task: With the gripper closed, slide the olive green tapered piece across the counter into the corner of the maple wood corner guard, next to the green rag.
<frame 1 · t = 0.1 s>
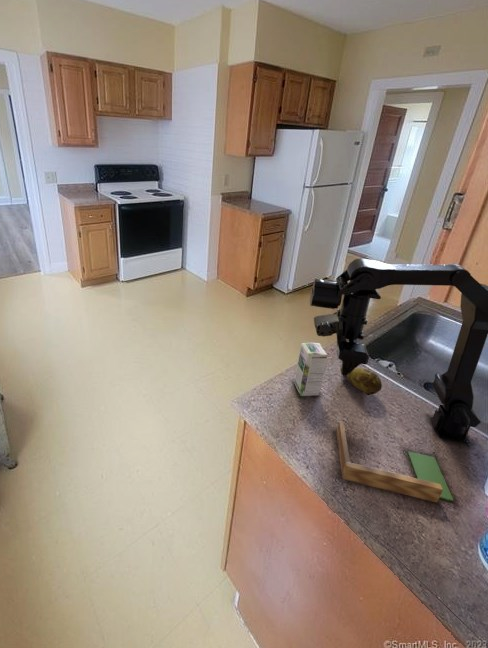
hand: (341, 363, 83), 15 cm above the worktop, tool pointing down, fingers open, 9 cm apart
syrup box: (306, 389, 95), on the worktop
corner guard: (383, 486, 68), on the worktop
olive green tapered piece: (357, 388, 96), on the worktop
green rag: (428, 475, 71), on the worktop
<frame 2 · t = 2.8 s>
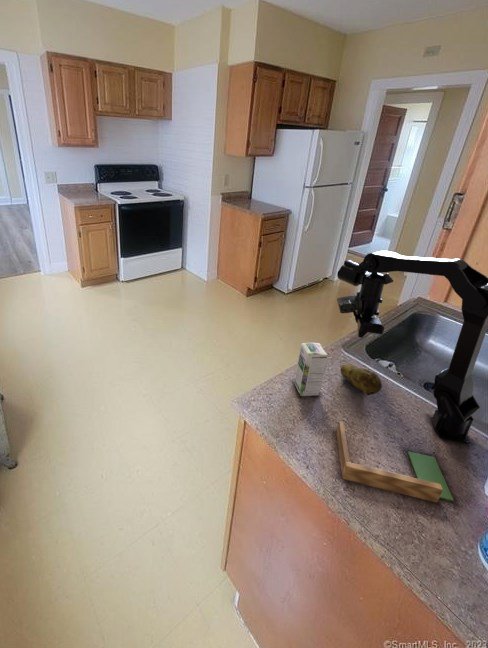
hand: (360, 336, 101), 12 cm above the worktop, tool pointing down, fingers closed
nothing on the worktop moved.
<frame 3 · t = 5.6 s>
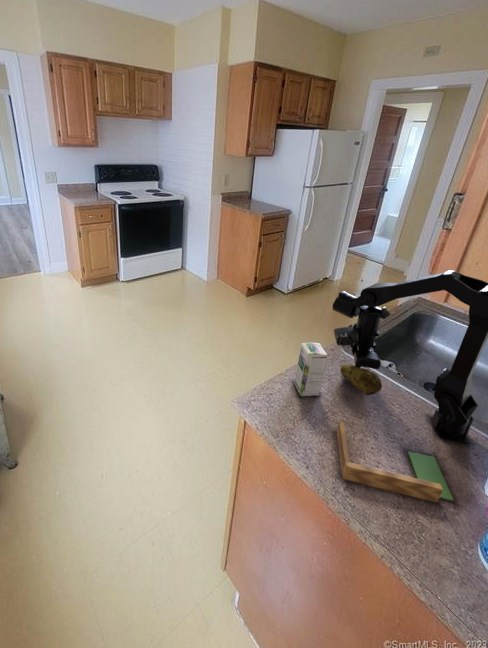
hand: (356, 367, 100), 3 cm above the worktop, tool pointing down, fingers closed
olive green tapered piece: (357, 388, 96), on the worktop, touching gripper
everything else where it was.
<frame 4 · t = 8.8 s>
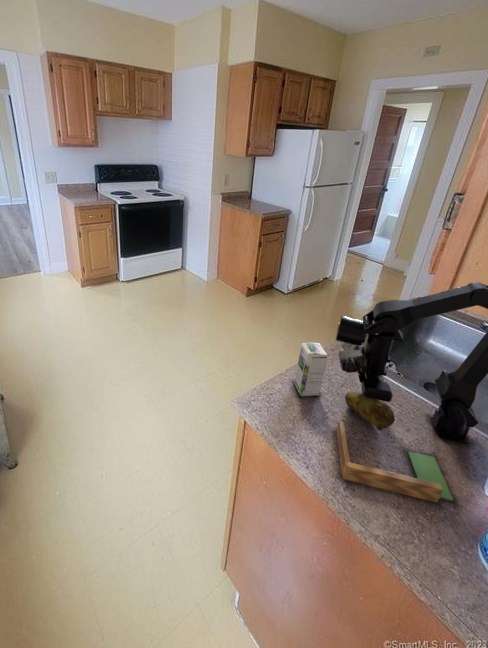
hand: (364, 395, 89), 3 cm above the worktop, tool pointing down, fingers closed
olive green tapered piece: (365, 419, 85), on the worktop, touching gripper
everything else where it was.
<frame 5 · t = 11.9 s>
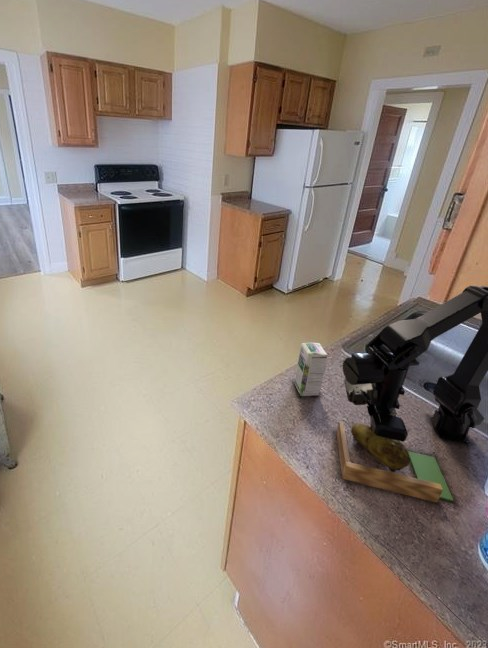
hand: (373, 427, 79), 3 cm above the worktop, tool pointing down, fingers closed
olive green tapered piece: (375, 456, 75), on the worktop, touching gripper
everything else where it was.
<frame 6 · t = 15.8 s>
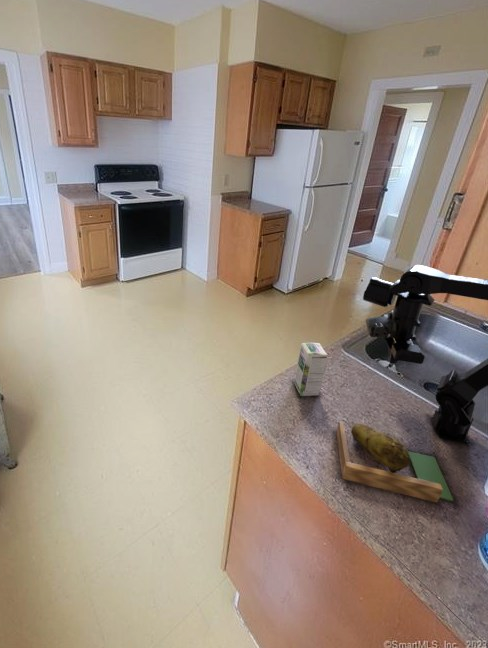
hand: (391, 362, 88), 12 cm above the worktop, tool pointing down, fingers closed
olive green tapered piece: (375, 457, 75), on the worktop
everything else where it was.
at the end: olive green tapered piece inside the target area on the corner guard (1.3 cm from its centre), point 0.0 cm above the corner guard's base; olive green tapered piece moved 23.3 cm from its start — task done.
